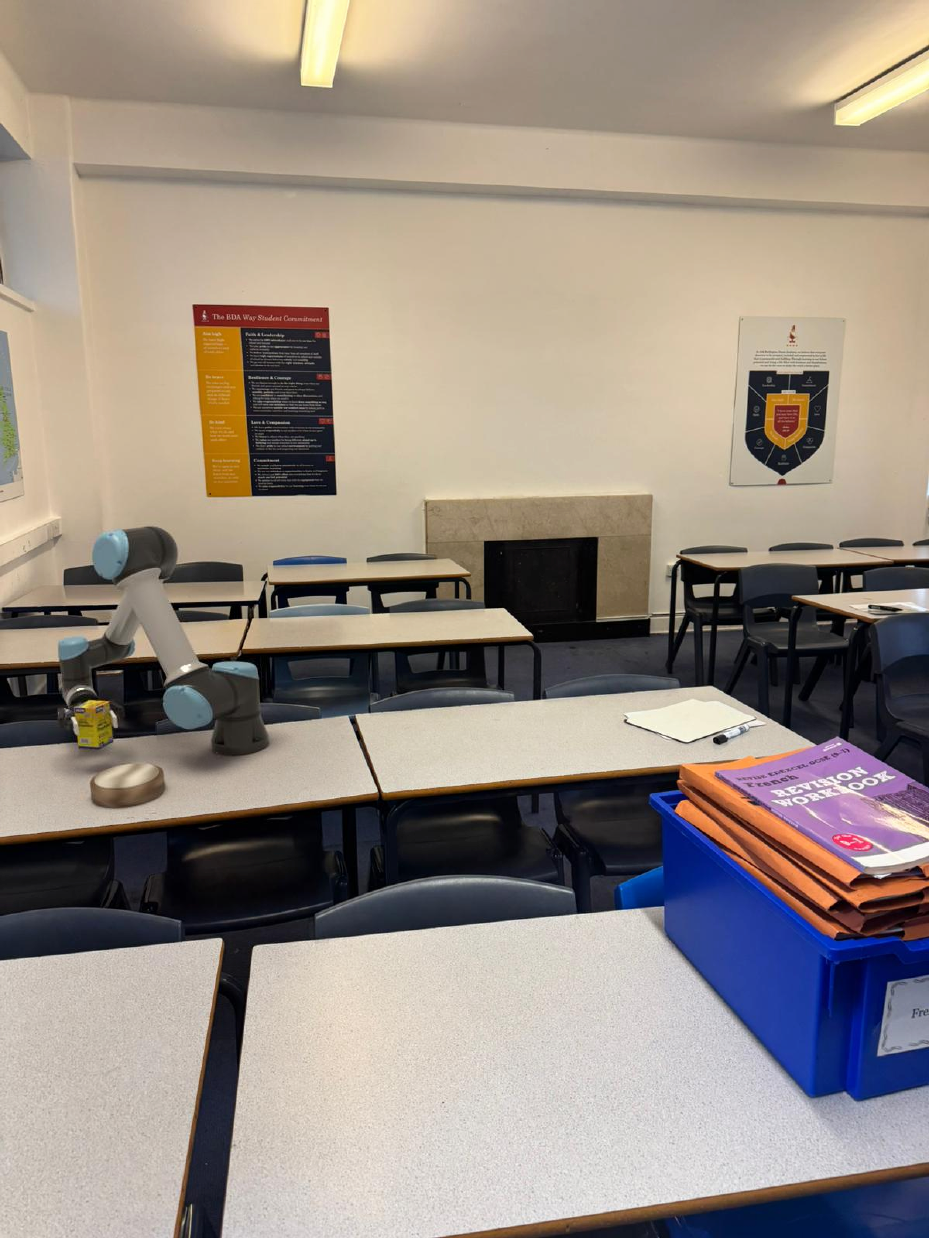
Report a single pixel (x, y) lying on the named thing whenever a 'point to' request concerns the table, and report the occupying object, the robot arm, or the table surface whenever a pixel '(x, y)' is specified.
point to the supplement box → (94, 724)
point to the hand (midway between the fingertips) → (96, 725)
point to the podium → (127, 785)
